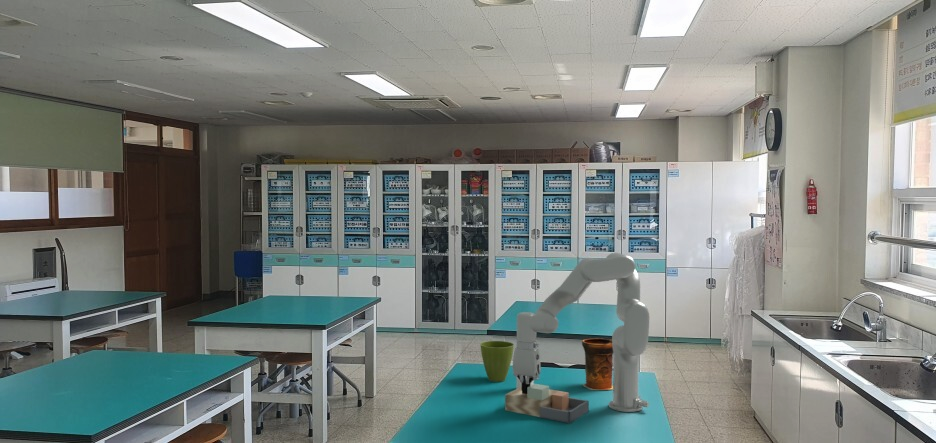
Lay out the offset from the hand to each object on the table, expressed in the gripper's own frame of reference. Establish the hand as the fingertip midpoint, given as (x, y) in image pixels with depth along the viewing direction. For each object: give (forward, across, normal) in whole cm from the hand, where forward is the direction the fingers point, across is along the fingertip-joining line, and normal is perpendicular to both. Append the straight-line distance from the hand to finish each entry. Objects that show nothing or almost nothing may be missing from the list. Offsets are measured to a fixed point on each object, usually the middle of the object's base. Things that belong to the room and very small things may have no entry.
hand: (525, 393), depth 253 cm
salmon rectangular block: (+3, -9, -8) cm, 12 cm away
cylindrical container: (+7, +14, -25) cm, 29 cm away
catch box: (+7, -14, -4) cm, 16 cm away
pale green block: (+1, -5, 0) cm, 5 cm away
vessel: (+7, -10, -47) cm, 49 cm away
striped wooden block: (+7, -1, -4) cm, 8 cm away
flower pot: (+7, +32, -32) cm, 46 cm away
